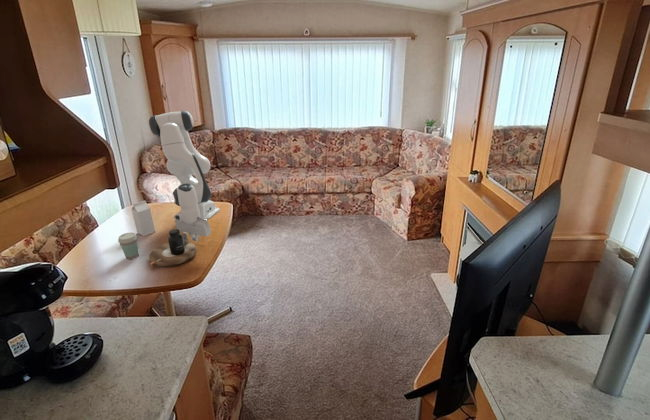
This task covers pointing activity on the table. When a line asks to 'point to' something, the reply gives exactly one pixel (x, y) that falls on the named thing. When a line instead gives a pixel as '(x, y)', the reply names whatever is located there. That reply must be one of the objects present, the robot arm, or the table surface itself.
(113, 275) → the table surface
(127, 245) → the coffee cup
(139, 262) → the table surface
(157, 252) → the turntable
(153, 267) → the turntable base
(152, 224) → the milk carton
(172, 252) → the supplement bottle
